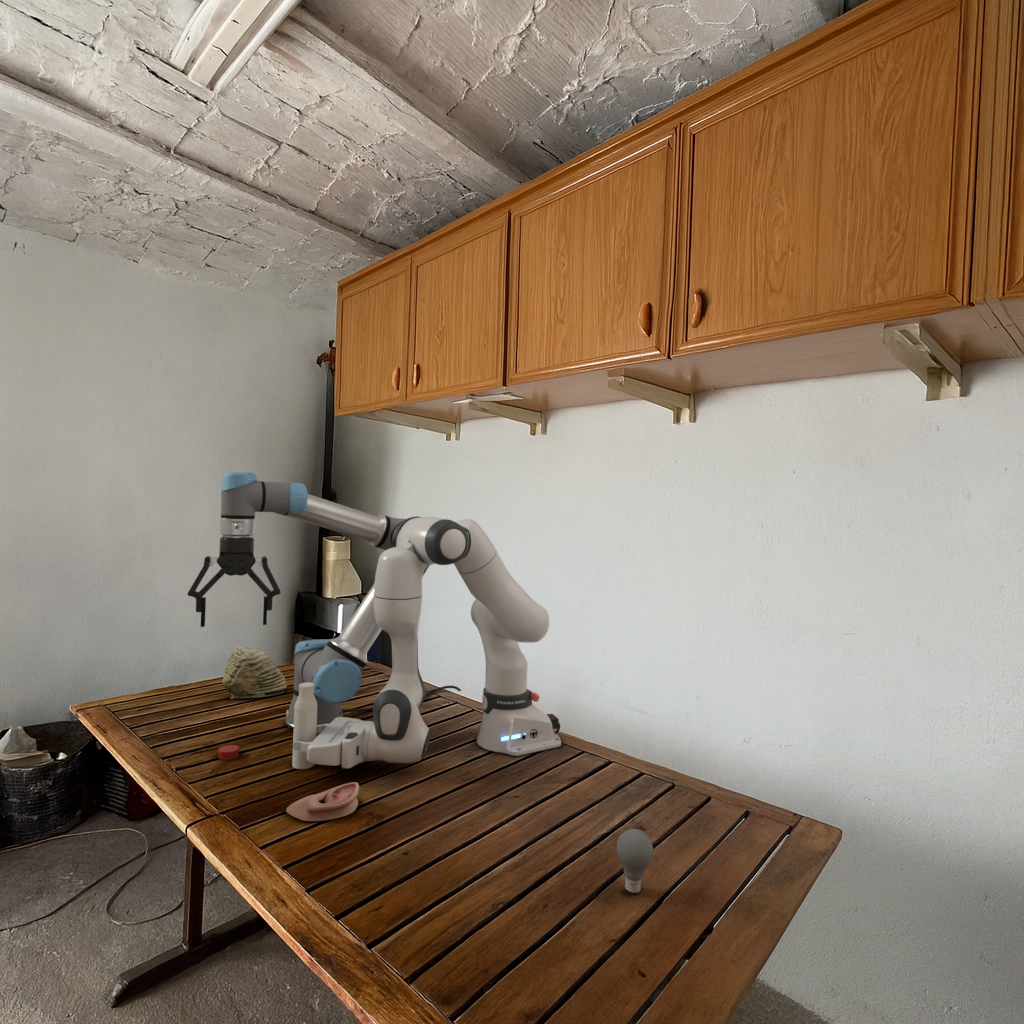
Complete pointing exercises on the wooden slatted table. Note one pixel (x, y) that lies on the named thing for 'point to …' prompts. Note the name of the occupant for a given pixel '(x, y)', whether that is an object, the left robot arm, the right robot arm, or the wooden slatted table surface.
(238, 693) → the fossil
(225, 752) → the cap
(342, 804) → the anatomical model
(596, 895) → the wooden slatted table surface
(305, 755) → the bottle
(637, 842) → the light bulb
